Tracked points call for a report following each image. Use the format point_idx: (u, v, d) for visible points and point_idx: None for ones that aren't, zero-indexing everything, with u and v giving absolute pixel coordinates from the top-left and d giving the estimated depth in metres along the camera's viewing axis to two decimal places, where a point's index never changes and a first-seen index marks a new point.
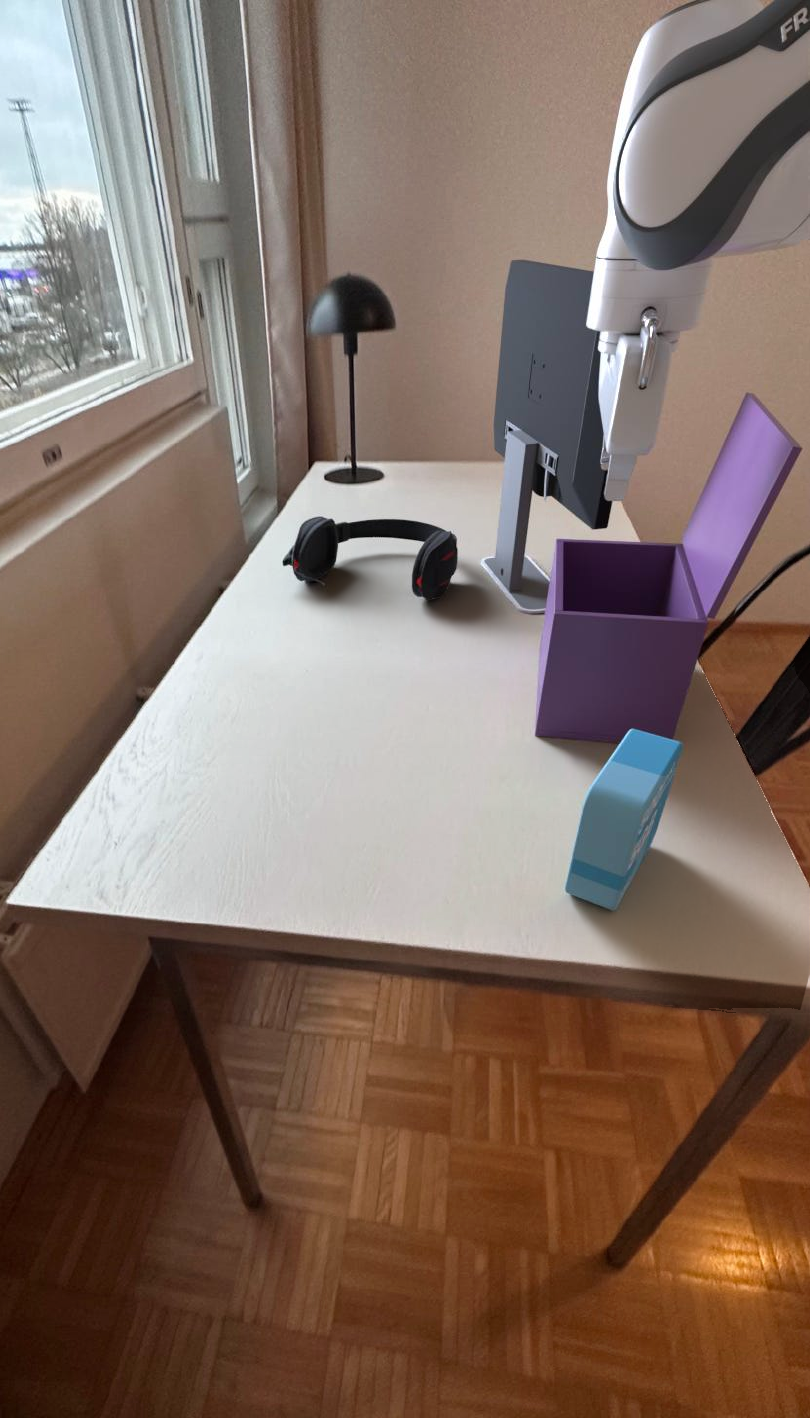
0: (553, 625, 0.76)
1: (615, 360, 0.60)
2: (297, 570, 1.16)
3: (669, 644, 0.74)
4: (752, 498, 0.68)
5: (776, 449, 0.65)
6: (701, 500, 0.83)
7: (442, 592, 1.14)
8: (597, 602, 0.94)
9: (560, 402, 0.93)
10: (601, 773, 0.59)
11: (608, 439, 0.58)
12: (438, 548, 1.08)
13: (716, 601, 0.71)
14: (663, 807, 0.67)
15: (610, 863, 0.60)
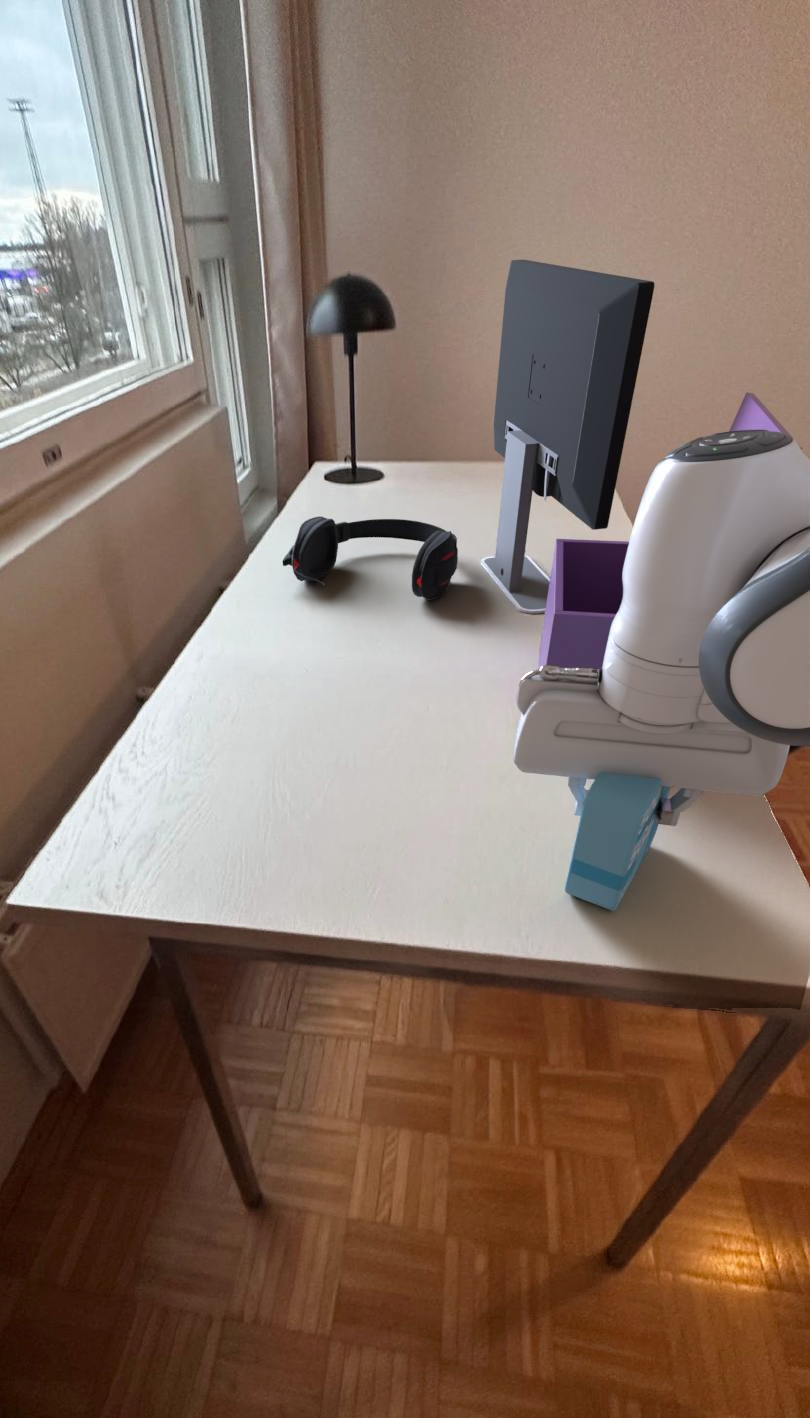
0: (553, 625, 0.76)
1: None
2: (297, 570, 1.16)
3: None
4: None
5: None
6: None
7: (442, 592, 1.14)
8: (597, 602, 0.94)
9: (560, 402, 0.93)
10: (601, 773, 0.59)
11: None
12: (438, 549, 1.08)
13: None
14: None
15: (610, 863, 0.60)
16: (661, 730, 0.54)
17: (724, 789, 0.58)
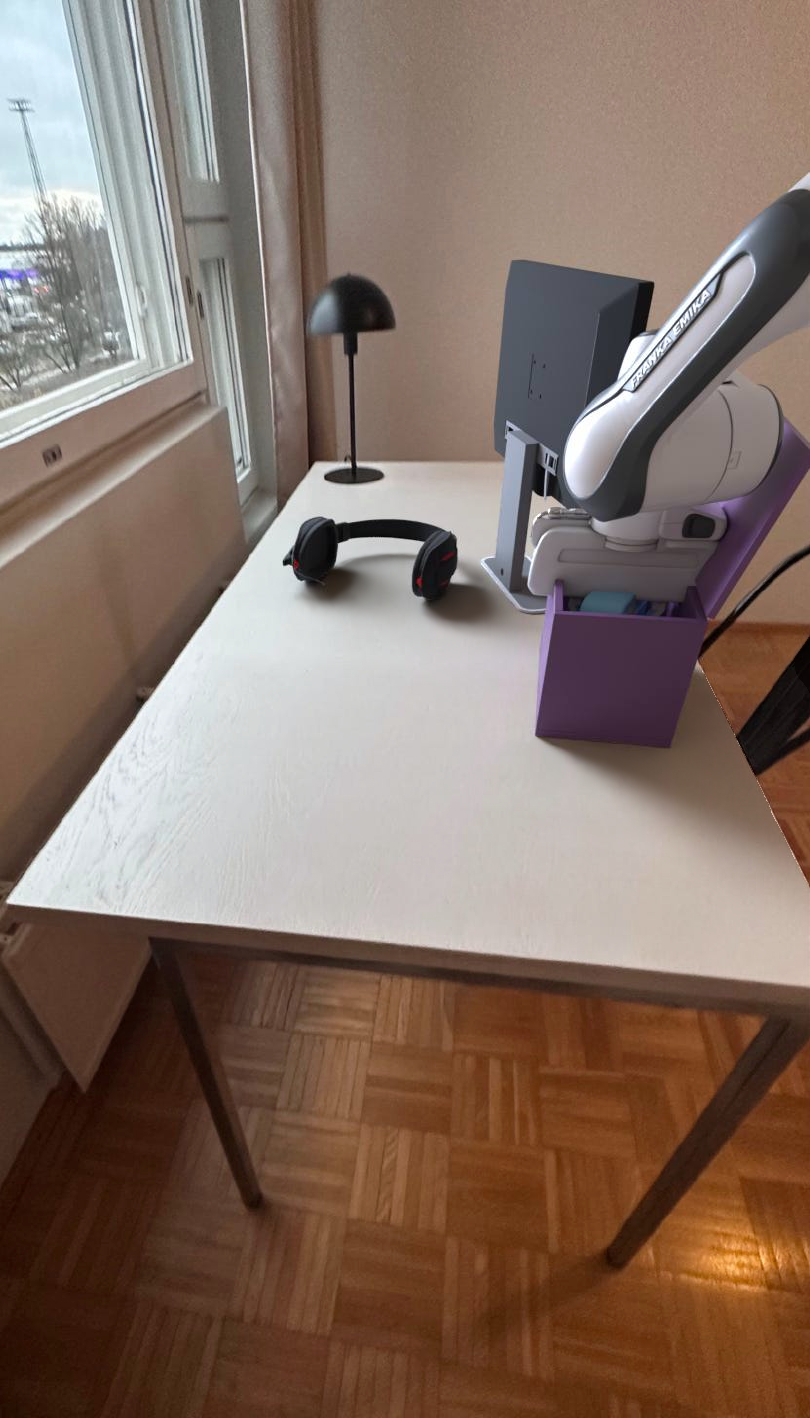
0: (553, 625, 0.76)
1: None
2: (297, 570, 1.16)
3: (669, 644, 0.74)
4: (762, 500, 0.68)
5: (791, 452, 0.65)
6: None
7: (442, 592, 1.14)
8: None
9: (560, 402, 0.93)
10: (592, 591, 0.81)
11: None
12: (438, 548, 1.08)
13: (718, 601, 0.71)
14: None
15: None
16: (634, 549, 0.77)
17: (680, 599, 0.80)
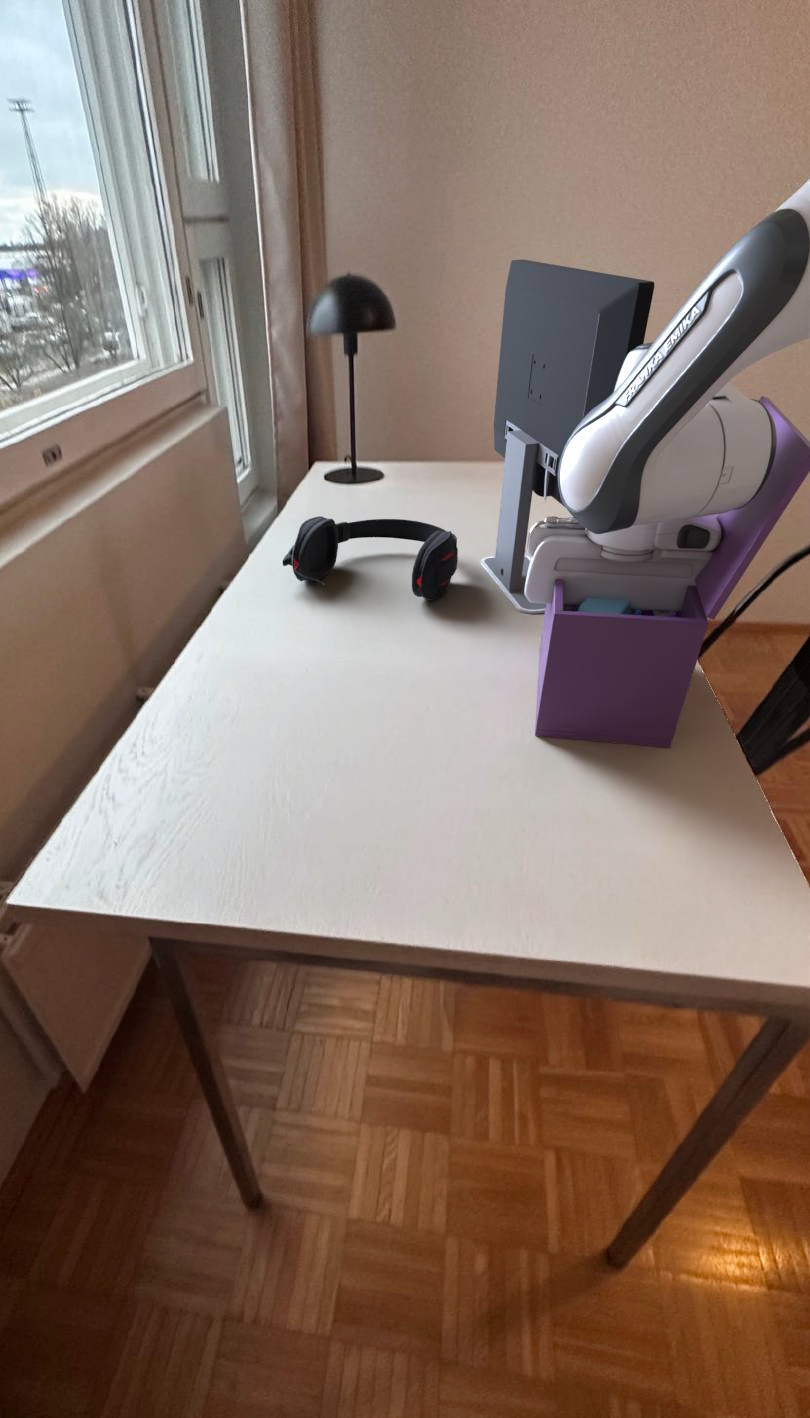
0: (553, 625, 0.76)
1: None
2: (297, 570, 1.16)
3: (669, 644, 0.74)
4: (763, 501, 0.68)
5: (793, 453, 0.65)
6: None
7: (442, 592, 1.14)
8: None
9: (560, 402, 0.93)
10: (587, 598, 0.82)
11: None
12: (438, 549, 1.08)
13: (718, 601, 0.71)
14: None
15: None
16: (630, 559, 0.77)
17: (675, 608, 0.81)
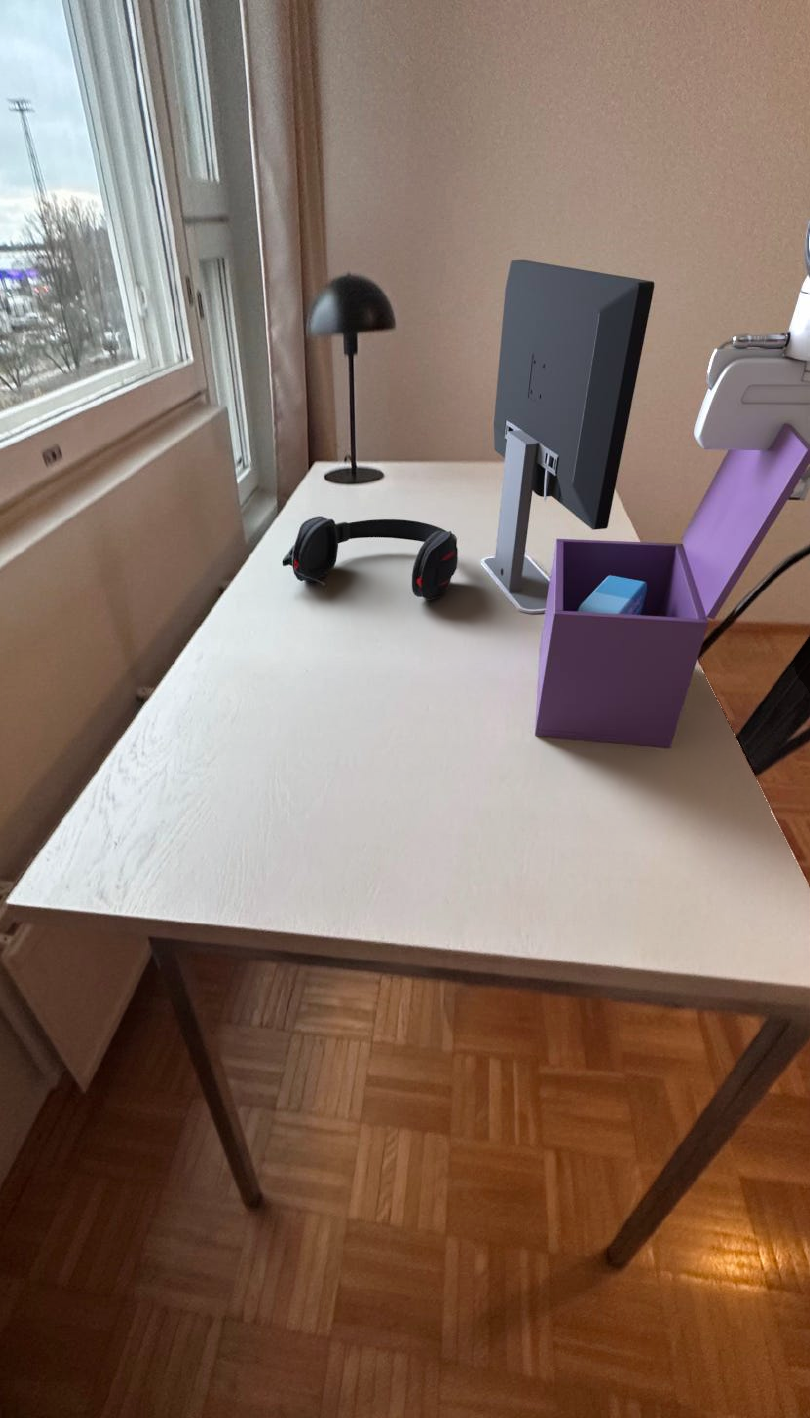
0: (553, 625, 0.76)
1: None
2: (297, 570, 1.16)
3: (669, 644, 0.74)
4: (761, 500, 0.68)
5: (789, 452, 0.65)
6: (704, 501, 0.83)
7: (442, 592, 1.14)
8: None
9: (560, 402, 0.93)
10: (587, 598, 0.82)
11: None
12: (438, 548, 1.08)
13: (717, 601, 0.71)
14: None
15: None
16: None
17: None
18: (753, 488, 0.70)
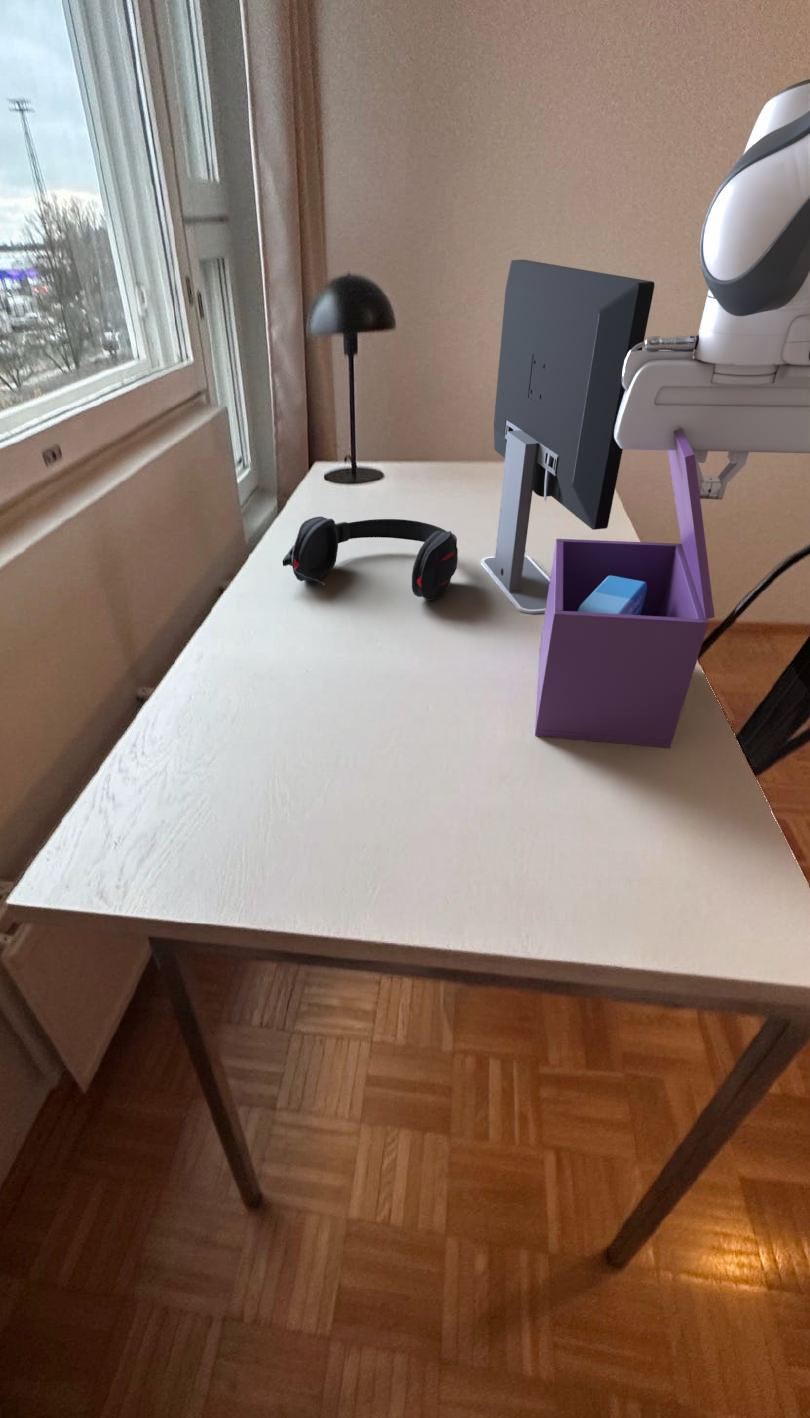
0: (553, 625, 0.76)
1: None
2: (297, 570, 1.16)
3: (669, 644, 0.74)
4: (687, 505, 0.69)
5: (681, 459, 0.67)
6: (676, 504, 0.84)
7: (442, 592, 1.14)
8: None
9: (560, 402, 0.93)
10: (587, 598, 0.82)
11: None
12: (438, 549, 1.08)
13: (705, 602, 0.71)
14: None
15: None
16: (749, 380, 0.65)
17: (796, 447, 0.69)
18: (683, 493, 0.72)
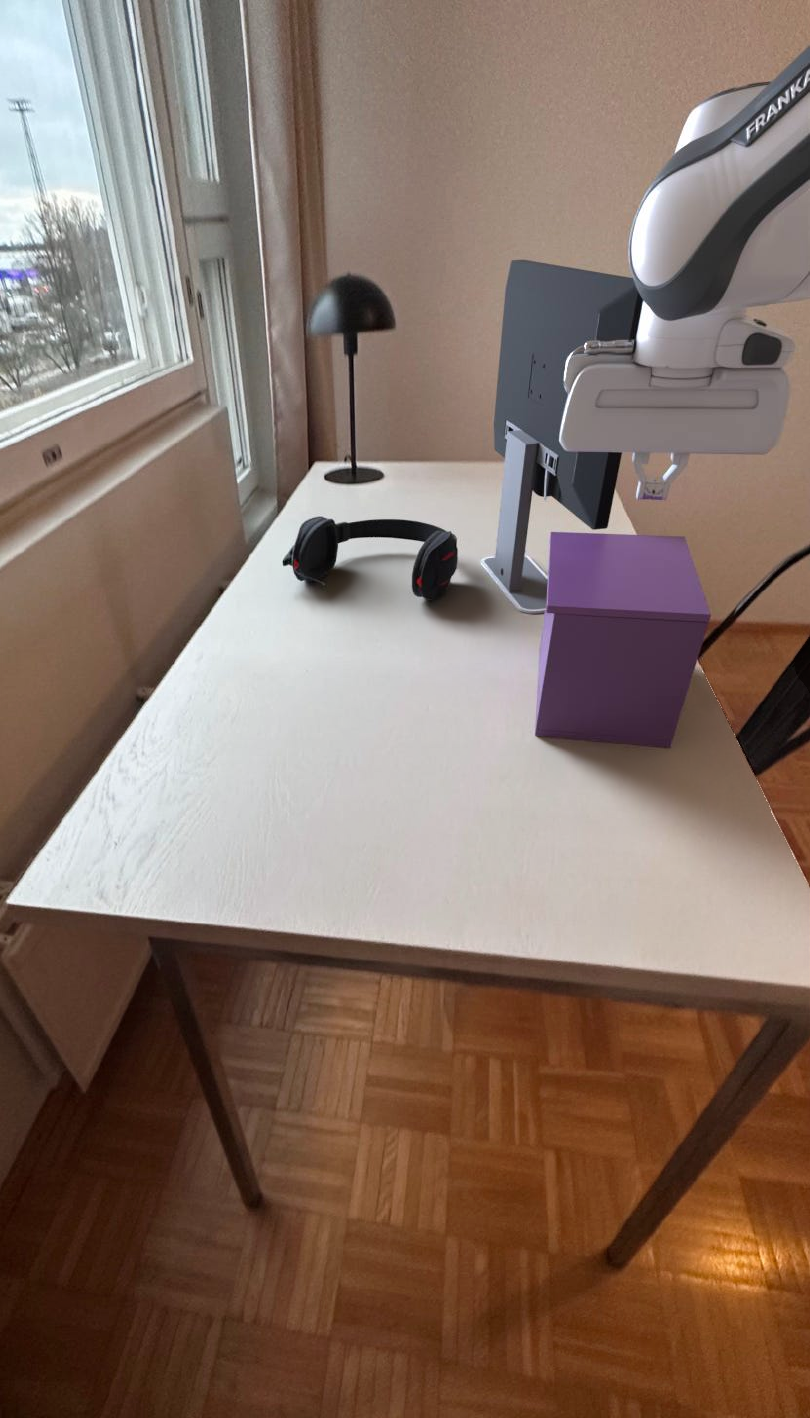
0: (553, 625, 0.76)
1: None
2: (297, 570, 1.16)
3: (669, 644, 0.74)
4: None
5: None
6: None
7: (442, 592, 1.14)
8: None
9: (560, 402, 0.93)
10: None
11: None
12: (438, 549, 1.08)
13: (690, 619, 0.72)
14: None
15: None
16: (685, 383, 0.67)
17: (735, 449, 0.70)
18: None
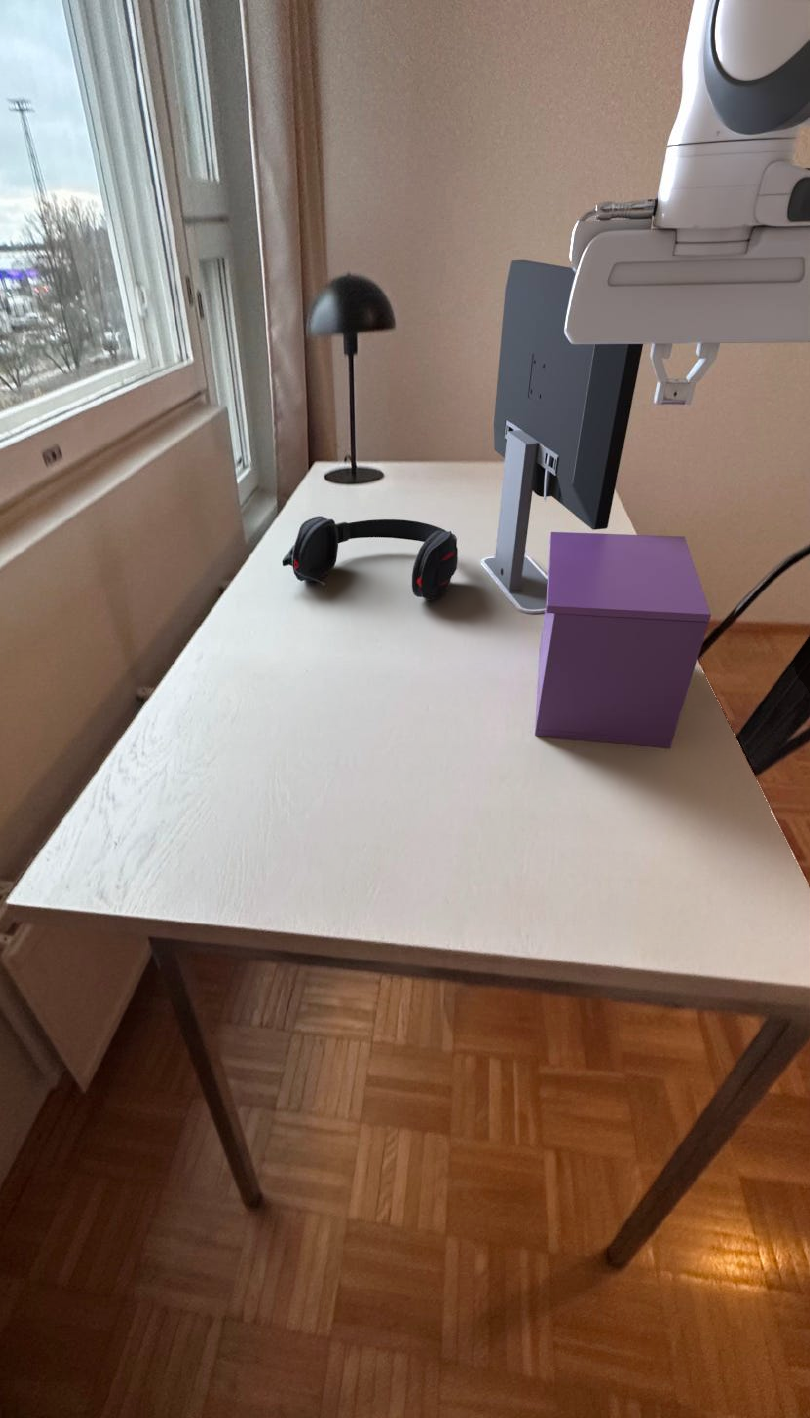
0: (553, 625, 0.76)
1: None
2: (297, 570, 1.16)
3: (669, 644, 0.74)
4: None
5: None
6: None
7: (442, 592, 1.14)
8: None
9: (560, 402, 0.93)
10: None
11: None
12: (438, 548, 1.08)
13: (690, 619, 0.72)
14: None
15: None
16: (717, 248, 0.55)
17: (775, 335, 0.59)
18: None
